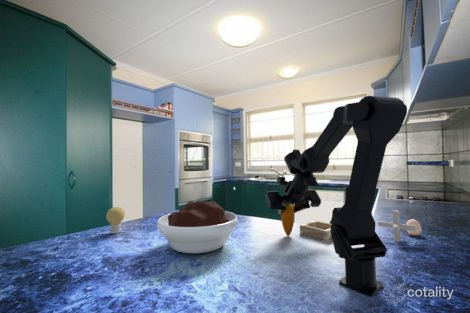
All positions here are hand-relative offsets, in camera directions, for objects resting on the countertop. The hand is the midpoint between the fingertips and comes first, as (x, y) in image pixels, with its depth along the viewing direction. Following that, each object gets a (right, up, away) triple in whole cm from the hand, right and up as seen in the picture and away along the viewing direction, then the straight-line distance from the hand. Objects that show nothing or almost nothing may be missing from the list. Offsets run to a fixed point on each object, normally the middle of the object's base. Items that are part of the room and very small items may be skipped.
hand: (285, 212), depth 81 cm
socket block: (+13, -8, -1) cm, 15 cm away
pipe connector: (+35, -8, -8) cm, 37 cm away
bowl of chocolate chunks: (-30, -8, -11) cm, 34 cm away
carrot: (0, -8, -2) cm, 8 cm away
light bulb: (-66, -9, +5) cm, 67 cm away
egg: (+46, -8, -2) cm, 47 cm away
